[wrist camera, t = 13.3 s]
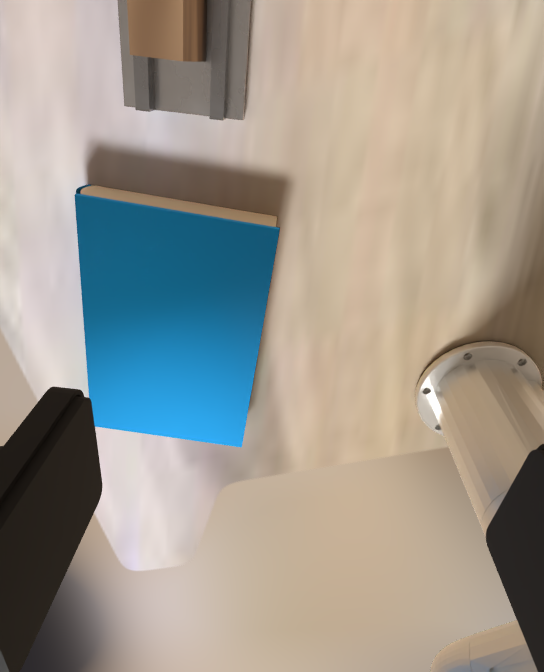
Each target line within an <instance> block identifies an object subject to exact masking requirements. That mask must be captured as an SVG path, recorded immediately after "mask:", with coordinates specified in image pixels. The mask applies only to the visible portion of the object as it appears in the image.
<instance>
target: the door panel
mask: <svg viewBox="0 0 544 672" xmlns="http://www.w3.org/2000/svg"><path fill="white" fill-rule="evenodd" d="M127 10H128V30H129V49H130V55H135V56H143V57H151V58H159V59H167V60H175V61H186V62H206V37H207V0H127Z"/></svg>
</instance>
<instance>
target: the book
mask: <svg viewBox="0 0 544 672" xmlns="http://www.w3.org/2000/svg"><path fill="white" fill-rule="evenodd" d="M75 206H76V220H77V234H78V247H79V261H80V275H81V289H82V303H83V317H84V331H85V345H86V359H87V372H88V386H89V398H90V399H91V402H92V409H93V417H94V424H95V426H96V427H103V428H110V429H117V430H124V431H131V432H138V433H145V434H152V435H159V436H166V437H173V438H180V439H187V440H194V441H201V442H208V443H215V444H222V445H229V446H236V447H242V442H243V436H244V431H245V425H246V419H247V413H248V408H249V402H250V396H251V391H252V385H253V379H254V373H255V368H256V362H257V356H258V351H259V345H260V339H261V333H262V328H263V322H264V316H265V311H266V305H267V299H268V293H269V288H270V282H271V276H272V271H273V265H274V259H275V253H276V248H277V242H278V236H279V231H280V228H278V227H276V222H277V216H271V215H265V214H259V213H253V212H248V211H242V210H236V209H230V208H224V207H218V206H212V205H207V204H201V203H195V202H189V201H183V200H177V199H172V198H166V197H160V196H154V195H148V194H142V193H136V192H131V191H125V190H119V189H113V188H107V187H101V186H95V185H93V186H91V185H85V186H82V187H79V188H78V189H77V190H76V194H75Z"/></svg>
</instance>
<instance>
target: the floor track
mask: <svg viewBox="0 0 544 672" xmlns="http://www.w3.org/2000/svg"><path fill="white" fill-rule="evenodd" d="M251 1H252V0H207V37H206V62H186V61H175V60H167V59H159V58H151V57H143V56H135V55H130V49H129V30H128V10H127V0H118V11H119V27H120V43H121V59H122V75H123V91H124V106H128V107H136V110H140V111H149V112H150V111H153V110H161V111H170V112H178V113H186V114H195V115H203V116H210V119H216V120H224V119H225V118H228V119H237V120H243V119H244V110H245V94H246V79H247V63H248V48H249V32H250V16H251Z"/></svg>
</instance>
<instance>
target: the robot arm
mask: <svg viewBox="0 0 544 672" xmlns="http://www.w3.org/2000/svg"><path fill="white" fill-rule="evenodd" d="M541 386H542V380H541V374H540V371H539V369H538V367H537V365H536V364H535V363H534V361H533V360H532V359H531V358H530V357H529V356H528V355H527V354H526V353H525V352H524V351H523V350H521V349H519V348H517V347H515V346H513V345H509V344H506V343H502V342H493V341H487V342H476V343H471V344H466V345H463V346H461V347H458V348H455V349H453V350H451V351H449V352H447V353H445V354H443V355H442V356H441V357H439V358H438V359H437V360H435V361H434V362H433V363H432V364H431V365H430V366H429V367H428V368H427V369H426V370H425V372H424V373H423V375H422V376H421V378H420V380H419V382H418V385H417V387H416V393H415V402H416V407H417V410H418V413H419V415H420V417H421V419H422V421H423V422H424V423H425V424H426V425H427V426H428V427H429V428H430V429H431V430H433V431H434V432H436V433H438V434H440V435H443V436H444V437H445V439H446V442H447V444H448V447H449V449H450V452H451V454H452V456H453V459H454V461H455V463H456V466H457V468H458V471H459V473H460V476H461V478H462V481H463V483H464V486H465V488H466V491H467V493H468V495H469V498H470V500H471V503H472V505H473V507H474V510H475V512H476V515H477V517H478V520H479V522H480V525H481V527H482V530H483V532H484V535H485V537H486V542H487V546H488V548H489V551H490V553H491V556H492V558H493V561H494V563H495V566H496V568H497V571H498V573H499V576H500V578H501V581H502V583H503V586H504V588H505V591H506V593H507V596H508V598H509V601H510V603H511V606H512V608H513V611H514V613H515V616H516V618H517V620H515V621H512V622H509V623H506V624H503V625H500V626H497V627H494V628H491V629H488V630H485V631H482V632H479V633H476V634H473V635H470V636H467V637H465V638H462V639H460V640H457V641H455V642H453V643H450V644H449V645H447V646H446V647H444V648H443V649H442V650H440V652H439V653H438V654H437V655H436V656H435V658H434V660H433V662H432V665H431V669H430V672H544V391H543V390H542V389H541ZM101 492H102V478H101V470H100V463H99V455H98V447H97V440H96V432H95V424H94V417H93V409H92V402H91V399H90V398H86V397H84V394H83V392H82V391H81V390H78V389H70V388H61V387H51V388H50V389H48V390H47V392H46V393H45V394H44V395H43V397H42V398H41V399H40V400H39V402H38V403H37V404H36V406H35V407H34V408H33V409H32V411H31V412H30V413H29V415H28V416H27V417H26V418H25V420H24V421H23V422H22V423H21V425H20V426H19V427H18V429H17V430H16V431H15V432H14V434H13V435H12V436H11V437H10V439H9V440H8V441H7V442H6V444H5V445H4V446H0V672H19V671H20V670H21V668H22V666H23V664H24V662H25V660H26V658H27V656H28V654H29V651H30V649H31V647H32V645H33V643H34V641H35V639H36V636H37V634H38V632H39V630H40V628H41V626H42V623H43V621H44V619H45V617H46V615H47V613H48V610H49V608H50V606H51V604H52V602H53V600H54V597H55V595H56V593H57V591H58V589H59V587H60V585H61V582H62V580H63V578H64V576H65V574H66V572H67V569H68V567H69V565H70V563H71V561H72V559H73V556H74V554H75V552H76V550H77V548H78V545H79V544H80V541H81V539H82V537H83V535H84V533H85V530H86V528H87V526H88V524H89V522H90V520H91V517H92V515H93V513H94V511H95V509H96V507H97V505H98V502H99V500H100V497H101Z"/></svg>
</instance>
